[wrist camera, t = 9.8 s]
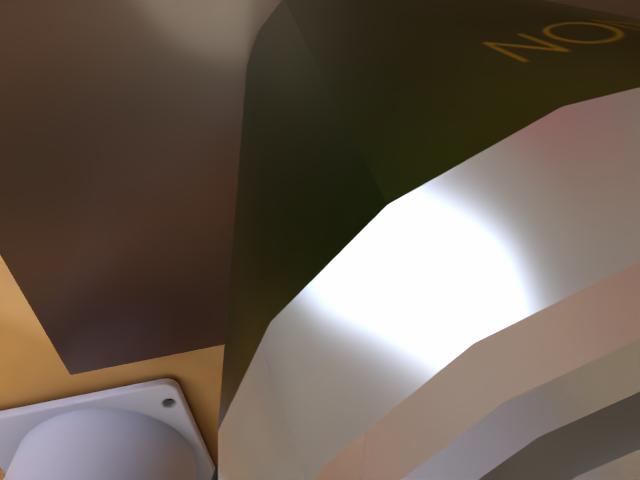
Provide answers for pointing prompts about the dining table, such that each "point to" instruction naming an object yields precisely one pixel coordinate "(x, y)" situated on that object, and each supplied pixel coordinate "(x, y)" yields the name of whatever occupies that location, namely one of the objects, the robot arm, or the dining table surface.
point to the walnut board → (128, 167)
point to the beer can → (436, 245)
